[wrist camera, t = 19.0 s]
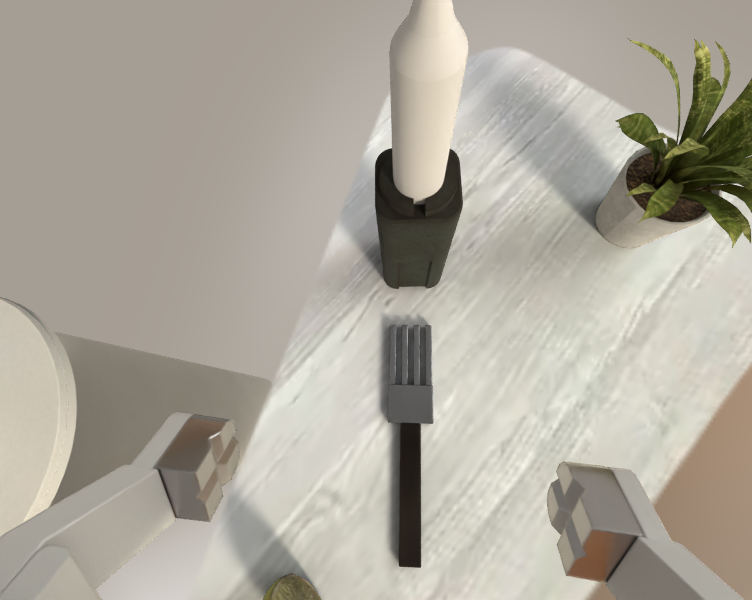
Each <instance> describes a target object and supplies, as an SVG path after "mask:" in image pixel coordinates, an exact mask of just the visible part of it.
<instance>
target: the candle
mask: <svg viewBox="0 0 752 600" xmlns="http://www.w3.org/2000/svg"><path fill="white" fill-rule="evenodd" d="M389 53H390V86H391V87H390V88H391V122H392V148H391V149H388V150H385V151H384V152H382V153H381V154H380V155H379V156H378V158H377V160H376V164H375V208H376V216H377V224H378V232H379V240H380V249H381V257H382V265H383V273H384V280H385V282H386V284H387V285H388V286H390V287H392V288H395V289H399V287H409V286H426V288H431V287H434V286H435V285H437V284H438V282H439V280H440V278H441V275H442V271H443V268H444V265H445V262H446V259H447V255H448V252H449V249H450V246H451V242H452V239H453V236H454V233H455V230H456V226H457V223H458V220H459V217H460V214H461V210H462V206H463V200H462V187H461V173H460V162H459V157H458V156H457V154H456V153H455V152H454V151H453V150H452V149H450V145H451V140H452V135H453V130H454V125H455V119H456V114H457V109H458V104H459V99H460V93H461V88H462V83H463V78H464V73H465V68H466V62H467V57H468V41H467V37H466V35H465V32H464V30H463V29H462V27H461V25H460V24H459V22H458V20H457V19H456V17H455V15H454V10H453V4H452V0H413V3H412V6H411V10H410V13H409V15H408V16H407V17H406V19H405V20H404V21H403V22H402V24H401V25H400V26H399V28H398V29H397V31H396V32H395V34H394V36H393V38H392V40H391V46H390V52H389Z"/></svg>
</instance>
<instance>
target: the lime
mask: <svg viewBox="0 0 752 600" xmlns="http://www.w3.org/2000/svg"><path fill="white" fill-rule="evenodd" d="M263 600H321V598H320V596H319V595H318V594H317V592H316V591H315V589H314V588H313V586H312V585H311V584H310V583H308V582H307V581H306V580H305V579H303V578H301V577H300V576H296V575H295V574H293V573H292V574H289V575H285V576H283V577H281V578H279V579H278V580H277V581H276V582H275V583H274V584H273V585H272V586H271V587H270V588H269V590H268V591H267V593H266V594H265V596H264V597H263Z"/></svg>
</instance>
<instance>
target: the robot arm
mask: <svg viewBox="0 0 752 600" xmlns="http://www.w3.org/2000/svg"><path fill="white" fill-rule="evenodd" d="M235 432H236V426H235V422H234V421H233V420H228V419H222V418H215V417H209V416H202V415H196V414H188V413H181V412H175V413H173V414H172V415H170V416H169V417H168V418H167V420H166V421H165V422H164V423H163V425H162V426H161V427H160V428H159V430H158V431H157V432H156V433H155V435H154V436H153V437H152V438H151V440H150V441H149V442H148V443H147V445H146V446H145V447H144V448H143V450H142V451H141V452H140V454H139V455H138V456H137V457H136V459H135V460H134V461H133V462H132V464H131V465H123V466H121V467H119V468H118V469H116V470H114V471H112V472H111V473H109V474H107V475H105V476H104V477H102V478H100V479H98V480H97V481H95V482H93V483H91V484H90V485H88V486H86V487H85V488H83V489H81V490H79V491H78V492H76V493H74V494H72V495H71V496H69V497H67V498H65V499H64V500H62V501H60V502H58V503H57V504H55V505H53V506H51V507H50V508H48V509H46V510H44V511H43V512H41V513H39V514H38V515H36V516H34V517H32V518H31V519H29V520H27V521H25V522H24V523H22V524H20V525H18V526H17V527H15V528H13V529H11V530H10V531H8V532H6V533H4V534H3V535H2V536H1V537H0V600H102V598H101V597H100V595H99V594H98V592H97V591H96V588H97V587H99V586H100V585H101V584H102V583H103V582H104V581H105V580H106V579H108V578H109V577H110V576H111V575H112V574H114V573H115V572H116V571H117V570H118V569H120V568H121V567H122V566H123V565H124V564H125V563H126V562H128V561H129V560H130V559H131V558H132V557H134V556H135V555H136V554H137V553H138V552H139V551H141V549H143V548H144V547H145V546H146V545H148V543H150V542H151V541H152V540H153V539H155V538H156V537H157V536H158V535H159V534H160V533H162V532H163V531H164V530H165V529H166V528H167V527H169V526H170V525H171V524H172V523H173V522H174V521H175V520H176V518H181V519H189V520H198V521H206V522H210V521H211V519H212V517H213V515H214V513H215V511H216V509H217V507H218V505H219V503H220V501H221V499H222V497H223V494H222V488H221V487H222V486H223V485H225V484H226V483H227V482H229V481H230V480H231V479H232V477H233V475H234V473H235V471H236V469H237V465H238V461H239V458H240V446H239V442H238V441H237V440H236V439H235V438H234V437H233V435H234V434H235ZM556 472H557V475H558V478H559V479H558V480H556V481H554V482H552V483H551V485H550V488H549V490H548V497H547V507H548V514H549V518H550V521H551V525H552V526H553V527H554V528H555V529H556V530H557V531H558V533H559V534H560V535H561V536H560V539H559V541H558V543H557V546H558V550H559V553H560V557H561V560H562V563H563V567H564V570H565V574H566V576H571V577H576V578H582V579H587V580H593V581H599V582H604V583H606V586H607V587H608V589H609V590H610V591H611V593H612V594H613V595H614V597H615V598H616V599H617V600H744V599H743V598H742V597H741V596H740V595H739V594H737V593H736V592H735V591H734V590H733V589H732V588H731V587H729V586H728V585H727V584H726V583H725V582H724V581H723V580H722V579H720V578H719V577H718V576H717V575H716V574H715V573H714V572H712V571H711V570H710V569H709V568H708V567H707V566H706V565H704V564H703V563H702V562H701V561H700V560H699V559H698V558H696V557H695V556H694V555H693V554H692V553H691V552H690V551H689V550H687V549H686V548H685V547H684V546H683V545H682V544H681V543H679V542H673V541H672V540H671V538H670V537H669V535H668V533H667V531H666V529H665V528H664V526H663V524H662V522H661V520H660V518H659V516H658V515H657V513H656V511H655V509H654V507H653V505H652V504H651V502H650V500H649V498H648V496H647V494H646V493H645V491H644V489H643V487H642V485H641V484H640V482H639V480H638V478H637V476H636V475H635V473H633V472H632V471H631V470H628V469H620V468H612V467H605V466H599V465H590V464H581V463H572V462H564V461H563V462H562V463H560V464H559V466H558V468H557V471H556Z"/></svg>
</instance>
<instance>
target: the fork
mask: <svg viewBox="0 0 752 600" xmlns="http://www.w3.org/2000/svg"><path fill="white" fill-rule="evenodd" d="M425 368H426V385H420V326H419V325H414V385H407V384H408V325H402V385H400V384H396V325H390V378H389V399H388V422H393V423H401V424H400V519H399V566H400V567H417V568H420V567H421V424H420V423H424V424H433V386H432V329H431V325H426V326H425Z"/></svg>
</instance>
